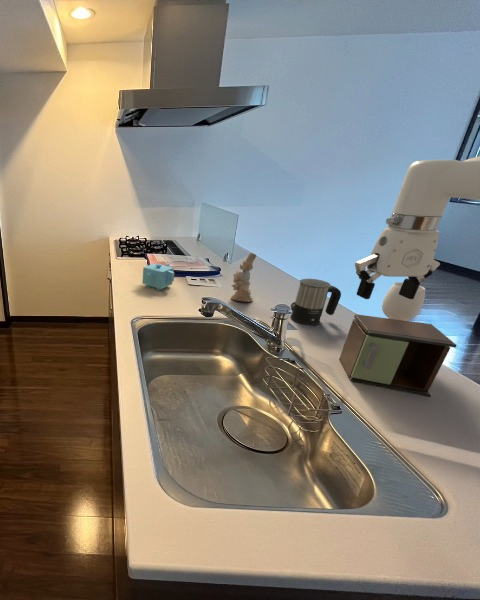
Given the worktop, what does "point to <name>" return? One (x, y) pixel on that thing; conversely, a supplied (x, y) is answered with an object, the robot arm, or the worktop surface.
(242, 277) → the figurine
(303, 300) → the milk frother
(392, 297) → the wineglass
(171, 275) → the teapot
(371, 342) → the sliding door
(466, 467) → the worktop surface
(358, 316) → the cupboard
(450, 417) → the worktop surface
